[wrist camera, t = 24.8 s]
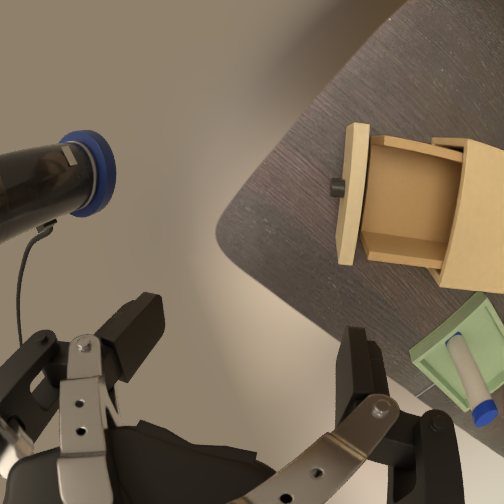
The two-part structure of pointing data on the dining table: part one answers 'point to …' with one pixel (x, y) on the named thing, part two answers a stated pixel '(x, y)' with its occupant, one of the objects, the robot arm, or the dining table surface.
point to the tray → (478, 341)
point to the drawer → (396, 199)
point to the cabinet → (475, 221)
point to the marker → (471, 381)
